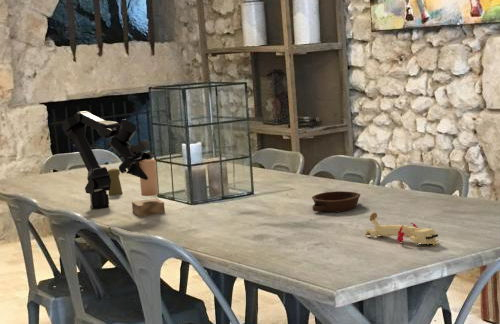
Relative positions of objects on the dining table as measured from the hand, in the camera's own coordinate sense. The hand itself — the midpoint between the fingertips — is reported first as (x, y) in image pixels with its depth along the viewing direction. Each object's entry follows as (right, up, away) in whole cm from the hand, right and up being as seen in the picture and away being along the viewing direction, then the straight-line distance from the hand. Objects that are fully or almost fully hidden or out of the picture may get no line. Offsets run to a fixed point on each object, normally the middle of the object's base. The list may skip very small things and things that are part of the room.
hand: (151, 177), depth 334 cm
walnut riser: (-1, -13, +2) cm, 14 cm away
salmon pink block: (-1, -6, +2) cm, 7 cm away
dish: (+69, -11, -14) cm, 71 cm away
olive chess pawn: (-21, -8, +45) cm, 50 cm away
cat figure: (+84, -19, -67) cm, 109 cm away
